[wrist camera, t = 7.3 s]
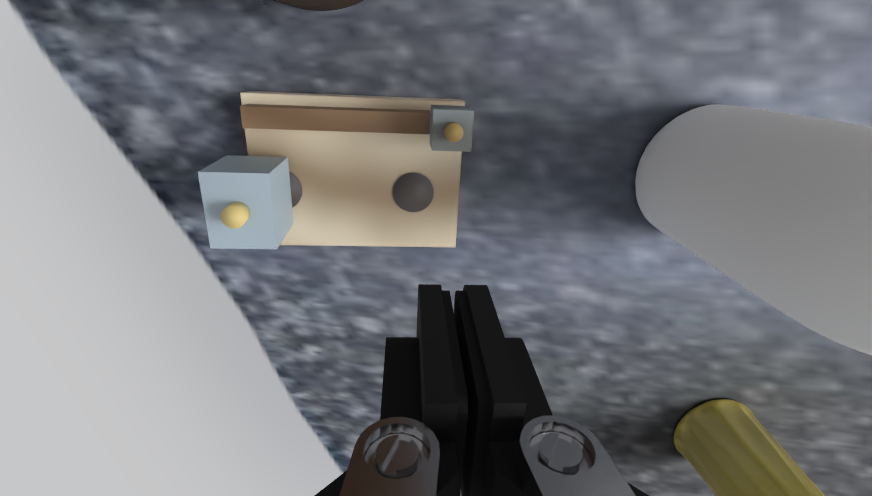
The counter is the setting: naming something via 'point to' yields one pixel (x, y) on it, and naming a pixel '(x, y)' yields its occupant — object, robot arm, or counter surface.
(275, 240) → the blue block with knob
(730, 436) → the vase
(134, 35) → the counter surface
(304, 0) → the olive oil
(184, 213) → the counter surface
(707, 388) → the counter surface
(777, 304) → the milk bottle
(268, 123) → the board
